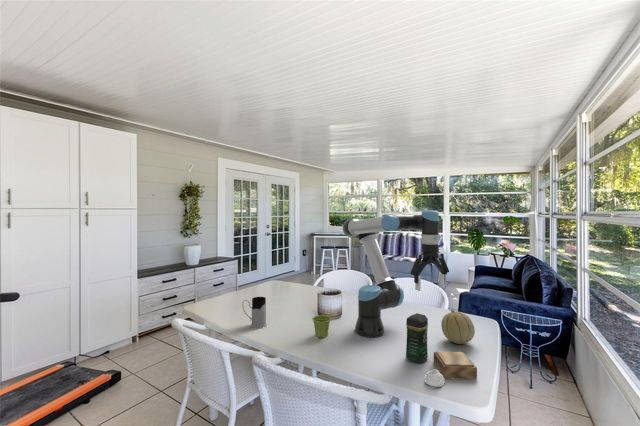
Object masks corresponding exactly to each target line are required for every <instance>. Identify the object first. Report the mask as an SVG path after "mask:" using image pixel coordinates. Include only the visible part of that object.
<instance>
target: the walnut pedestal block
mask: <svg viewBox="0 0 640 426" xmlns="http://www.w3.org/2000/svg"><path fill="white" fill-rule="evenodd" d="M433 364H434V366H435V367H436V366H437V367H436V368H437V370H438V369H439V370H438V371H439V373H440V372H441V373H440V374H442V375H443V377H444V378H454V379H453V380H478V368H477V366H476V365H475V364H474V363H473V361H471V360H470V358H469V357H468V356H467V355H466V354H465V353H464V352H463V351H438V350H437V351H433Z"/></svg>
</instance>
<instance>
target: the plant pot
mask: <svg viewBox="0 0 640 426" xmlns="http://www.w3.org/2000/svg"><path fill="white" fill-rule="evenodd" d="M331 320H332V318H331V317H330V316H328V315H322V314H321V315H316V316H315V315H314V317H312V321H313V325H314V331H315V332H314V333H315V337H317V338H323V339H324V338H326V337H328V334H329V327H330V322H331Z"/></svg>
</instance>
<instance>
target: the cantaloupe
mask: <svg viewBox="0 0 640 426" xmlns="http://www.w3.org/2000/svg"><path fill="white" fill-rule="evenodd" d="M440 325H441V326H440V327H441V330H442V333H443V335H444V337H445V338H446V339H447V340H448V341H449V342H452V343H455V344H458V345H462V344H466V343H469V342H471V341H472V340H473V339H474V337H475V332H476V331H475V325H474V323H473V321H472V319H471V318H470V316H468V315H467V313H465V312H462V311H455V310H453V309H451V310H450V312H448V313H446V314H445V315H444V316H443V317H442V319H441V324H440Z"/></svg>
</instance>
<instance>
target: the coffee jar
mask: <svg viewBox="0 0 640 426" xmlns="http://www.w3.org/2000/svg"><path fill="white" fill-rule="evenodd" d="M428 320H429V319H428V317H427V315H425V314H422V313H418V312H417V313H414V314H412V315H410V316H408V317H406V323H405V325H406V346H405V347H406V348H405V358H406V359H407V361H409V362H412V363H415V364H417V363H418V364H423V363H424V362H425V361H426V360H427V359H428V356H429V355H428V327H429V326H428V325H429V323H428Z"/></svg>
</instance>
